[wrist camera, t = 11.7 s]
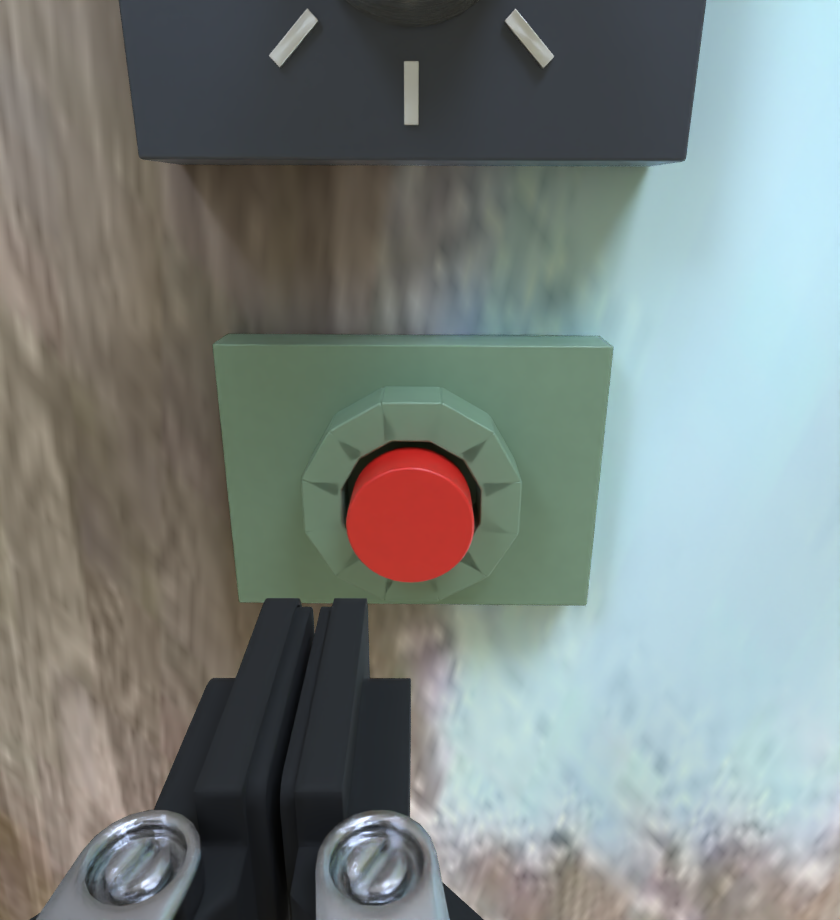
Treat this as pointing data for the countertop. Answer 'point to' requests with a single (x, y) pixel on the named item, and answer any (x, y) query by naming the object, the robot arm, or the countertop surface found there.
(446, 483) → the button
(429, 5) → the dial
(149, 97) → the dial panel
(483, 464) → the button block
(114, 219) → the countertop surface
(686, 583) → the countertop surface
